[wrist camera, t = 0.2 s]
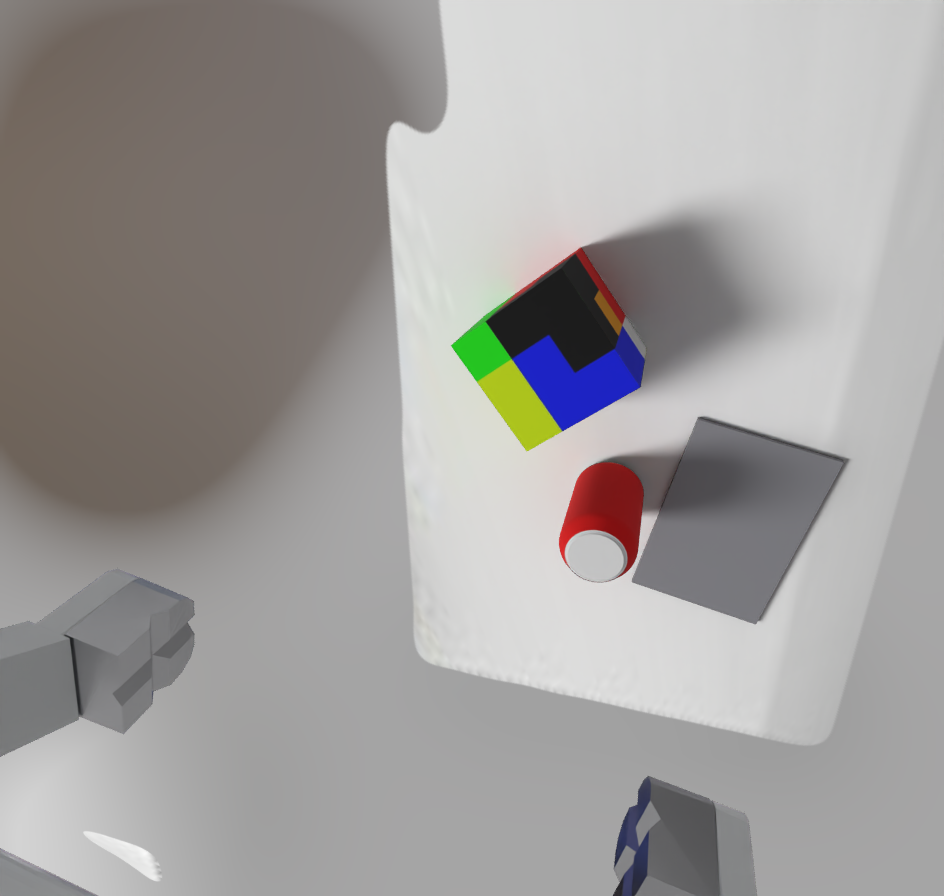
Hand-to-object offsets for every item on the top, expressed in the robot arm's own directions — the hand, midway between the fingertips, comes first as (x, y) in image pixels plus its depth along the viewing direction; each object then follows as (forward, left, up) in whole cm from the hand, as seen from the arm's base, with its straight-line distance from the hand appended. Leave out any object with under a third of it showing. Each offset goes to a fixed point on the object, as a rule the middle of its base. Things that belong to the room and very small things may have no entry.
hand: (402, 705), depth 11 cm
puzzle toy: (+7, -3, -48) cm, 48 cm away
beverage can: (+20, +5, -48) cm, 52 cm away
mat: (+20, +16, -48) cm, 54 cm away
